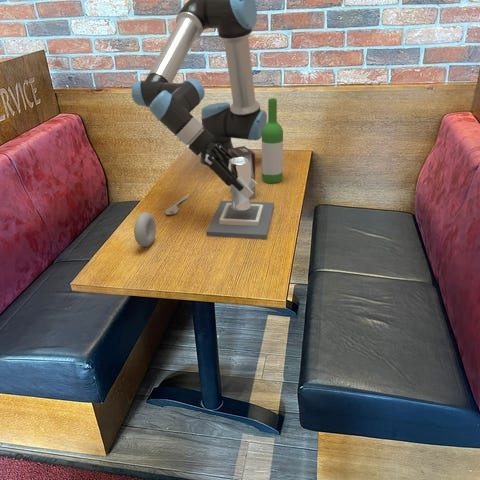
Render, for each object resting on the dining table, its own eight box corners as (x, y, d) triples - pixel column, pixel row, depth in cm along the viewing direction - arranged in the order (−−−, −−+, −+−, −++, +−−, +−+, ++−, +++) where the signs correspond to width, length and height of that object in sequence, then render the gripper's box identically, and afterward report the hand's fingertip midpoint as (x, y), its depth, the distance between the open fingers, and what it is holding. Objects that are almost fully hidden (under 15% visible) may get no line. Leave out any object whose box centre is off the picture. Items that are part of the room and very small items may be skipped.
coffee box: (256, 197, 158) (255, 153, 150) (239, 201, 156) (238, 156, 148) (245, 188, 165) (244, 145, 157) (229, 191, 163) (227, 148, 155)
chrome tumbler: (249, 212, 137) (249, 165, 129) (227, 210, 138) (225, 164, 131) (253, 202, 143) (253, 157, 135) (232, 201, 144) (230, 156, 136)
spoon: (161, 217, 148) (161, 213, 147) (185, 192, 165) (185, 188, 164) (173, 218, 147) (173, 214, 146) (196, 193, 164) (195, 189, 163)
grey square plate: (221, 204, 154) (220, 196, 152) (273, 206, 151) (273, 198, 149) (206, 235, 135) (205, 227, 134) (266, 239, 132) (266, 230, 131)
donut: (148, 236, 136) (144, 206, 131) (159, 236, 135) (155, 206, 130) (134, 253, 128) (129, 221, 123) (146, 254, 127) (141, 222, 122)
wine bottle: (279, 185, 167) (280, 102, 152) (259, 182, 169) (258, 101, 154) (284, 177, 173) (286, 97, 158) (265, 175, 175) (265, 96, 160)
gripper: (196, 136, 142) (248, 186, 147) (178, 156, 125) (238, 212, 130) (211, 119, 138) (264, 171, 144) (195, 138, 121) (256, 196, 127)
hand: (252, 190), depth 137 cm, fingers closed on chrome tumbler, 7 cm apart
